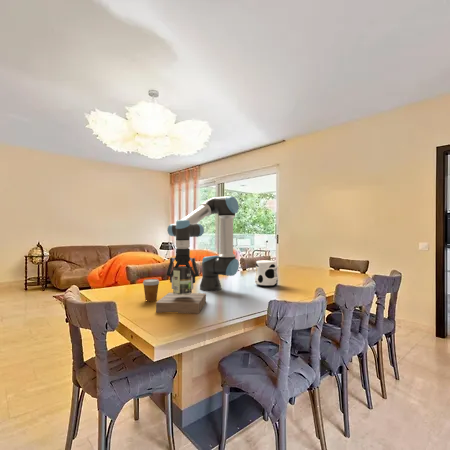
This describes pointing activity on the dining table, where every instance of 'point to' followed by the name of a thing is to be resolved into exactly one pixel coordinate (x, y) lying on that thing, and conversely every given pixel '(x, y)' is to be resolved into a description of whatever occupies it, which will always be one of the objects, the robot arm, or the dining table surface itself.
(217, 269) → the robot arm
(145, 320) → the dining table surface
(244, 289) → the dining table surface
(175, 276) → the coffee can
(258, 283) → the milk container
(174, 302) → the walnut plinth
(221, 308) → the dining table surface
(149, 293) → the disposable coffee cup
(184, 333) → the dining table surface
